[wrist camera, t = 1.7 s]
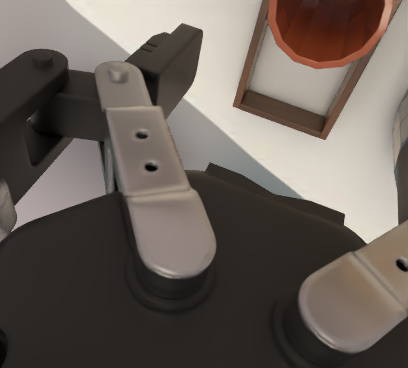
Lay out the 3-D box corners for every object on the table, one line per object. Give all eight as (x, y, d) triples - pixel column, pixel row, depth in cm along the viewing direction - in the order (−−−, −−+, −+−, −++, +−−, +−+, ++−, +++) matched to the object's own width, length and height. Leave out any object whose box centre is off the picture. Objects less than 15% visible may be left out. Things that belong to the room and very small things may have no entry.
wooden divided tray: (306, -136, 22) (300, -133, 21) (446, -97, 22) (451, -90, 20) (240, 92, 34) (232, 106, 33) (328, 124, 33) (325, 140, 32)
